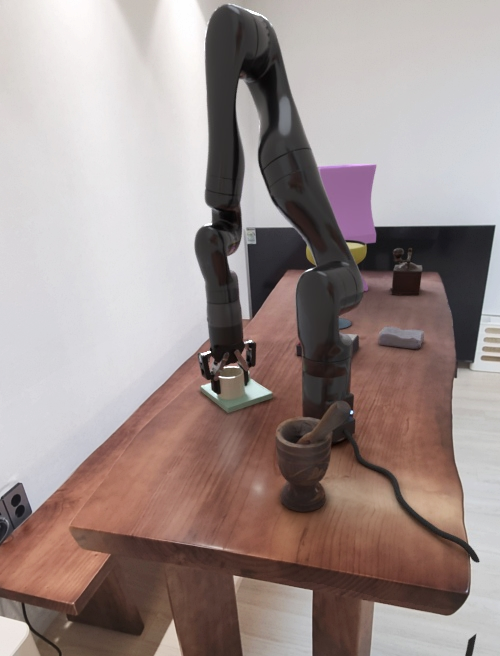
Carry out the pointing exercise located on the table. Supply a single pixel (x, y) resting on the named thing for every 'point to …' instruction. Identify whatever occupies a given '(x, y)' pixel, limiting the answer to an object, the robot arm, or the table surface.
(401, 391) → the table surface
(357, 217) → the chair
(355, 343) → the calculator
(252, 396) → the scale
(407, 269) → the coffee grinder
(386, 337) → the stone block
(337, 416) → the mortar and pestle
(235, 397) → the cup
